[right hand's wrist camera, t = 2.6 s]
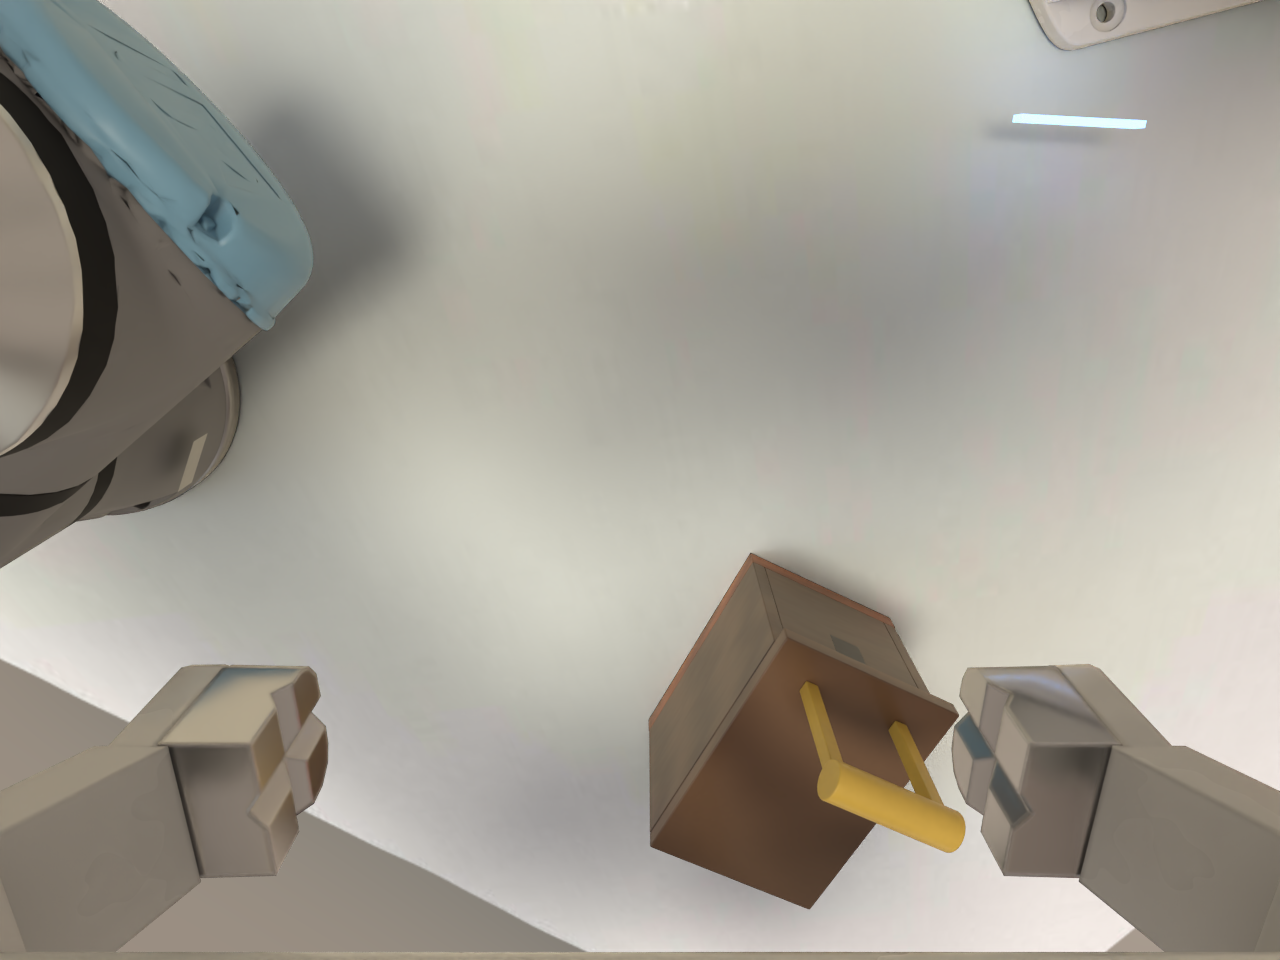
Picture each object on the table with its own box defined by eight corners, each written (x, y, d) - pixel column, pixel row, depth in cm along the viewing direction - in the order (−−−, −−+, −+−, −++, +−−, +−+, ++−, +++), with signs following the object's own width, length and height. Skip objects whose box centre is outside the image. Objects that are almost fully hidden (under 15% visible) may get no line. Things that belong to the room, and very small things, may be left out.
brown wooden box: (750, 552, 50) (774, 640, 41) (889, 618, 52) (943, 716, 42) (648, 719, 54) (649, 832, 45) (779, 775, 56) (806, 895, 47)
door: (783, 626, 40) (818, 740, 32) (953, 703, 42) (1026, 830, 34) (649, 833, 45) (650, 977, 37) (806, 895, 47) (839, 1046, 39)
